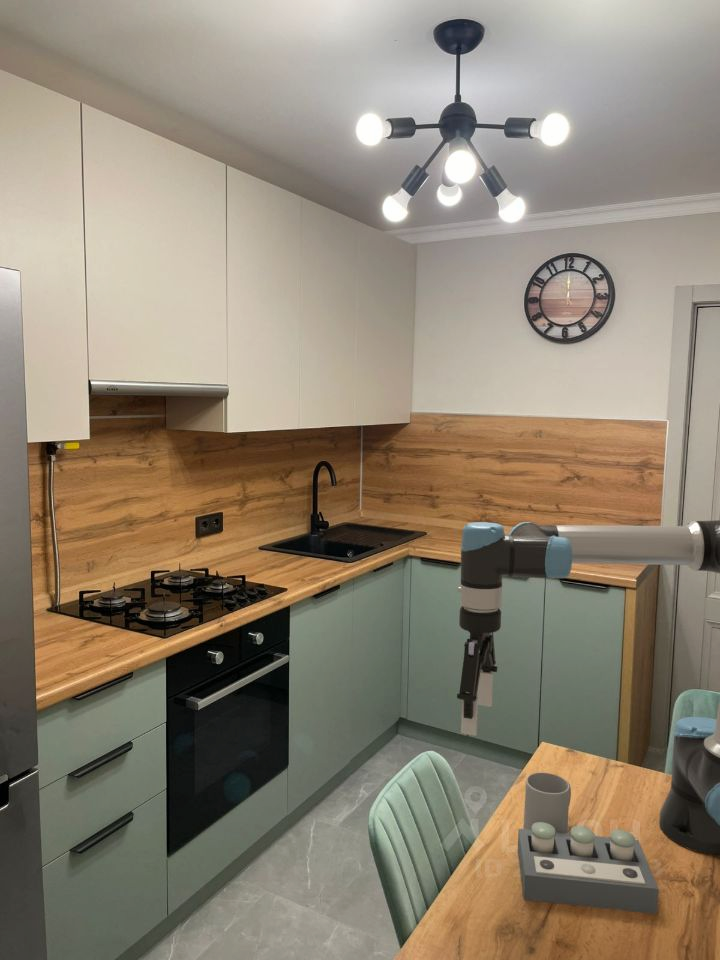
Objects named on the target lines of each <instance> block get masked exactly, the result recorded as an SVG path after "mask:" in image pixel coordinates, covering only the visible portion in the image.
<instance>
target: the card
mask: <svg viewBox="0 0 720 960" xmlns="http://www.w3.org/2000/svg"><path fill="white" fill-rule="evenodd" d="M534 862H535V868H536V873H538V874H548V875H558V876H567V877H577V878H586V879H596V880H605V881H615V882H624V883H634V884H644V885H645V881H644V878H643V876H642V873H641V871H640V868H639V867H636V866H626V865H616V864H606V863H596V862H586V861H577V860H567V859H557V858H547V857H537V856H534Z"/></svg>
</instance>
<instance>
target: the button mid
mask: <svg viewBox="0 0 720 960" xmlns="http://www.w3.org/2000/svg"><path fill="white" fill-rule="evenodd" d="M570 834H571V846H570V854H571V856H581V857H590V858H593V847H594V840H595V836H596V835H595V831H594V830H592V829H591V828H590V827H587V826H582V825H574V826H573V827H572V828H570Z"/></svg>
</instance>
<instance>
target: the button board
mask: <svg viewBox="0 0 720 960" xmlns="http://www.w3.org/2000/svg"><path fill="white" fill-rule="evenodd" d="M610 841H611V840H610V836H597V835H595V840H594V847H593V858H590V857H581V856H571V854H570V846H571V833H559V832H555V837H554V853H553V854H551V853H541V852H532V851H531V842H532V831H531V830H528V829H523V828H518V833H517V857H518V865H519V873H520V879H521V881H520V882H521V887H522V895H523V900H525V901H533V902H542V903H543V902H544V903H553V904H562V905H570V906H579V907H580V906H582V907H589V908H597V909H599V908H600V909H607V910H614V911H615V910H616V911H626V912H627V911H628V912H634V913H643V914H651V915H653V914H654V915H657V914H658V907H659V906H658V905H659V893H660V891H659V890H660V889H659V886H658V883H657V881H656V879H655V876H654V874H653V872H652V869H651V867H650V865H649V863H648V860H647V857H646V855H645V853H644V850H643V848H642V845H641V843H640V841H639V839H635V844H634V853H633V862H630V861H620V860H611V859H610ZM534 856H537V857H547V858H557V859H567V860H577V861H586V862H596V863H606V864H616V865H626V866H636V867H639V868H640V871H641V873H642V876H643V878H644V881H645V885H644V884H634V883H624V882H615V881H605V880H596V879H586V878H577V877H567V876H558V875H548V874H538V873H536V868H535V862H534Z"/></svg>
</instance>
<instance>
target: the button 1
mask: <svg viewBox="0 0 720 960" xmlns="http://www.w3.org/2000/svg"><path fill="white" fill-rule="evenodd" d="M531 831H532V842H531V851H532V852H541V853H551V854H553V853H554V837H555V828H554V827H553V826H552V825H550V824H548V823H544V822H537V823H534V824H533V825H532V830H531Z"/></svg>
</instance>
